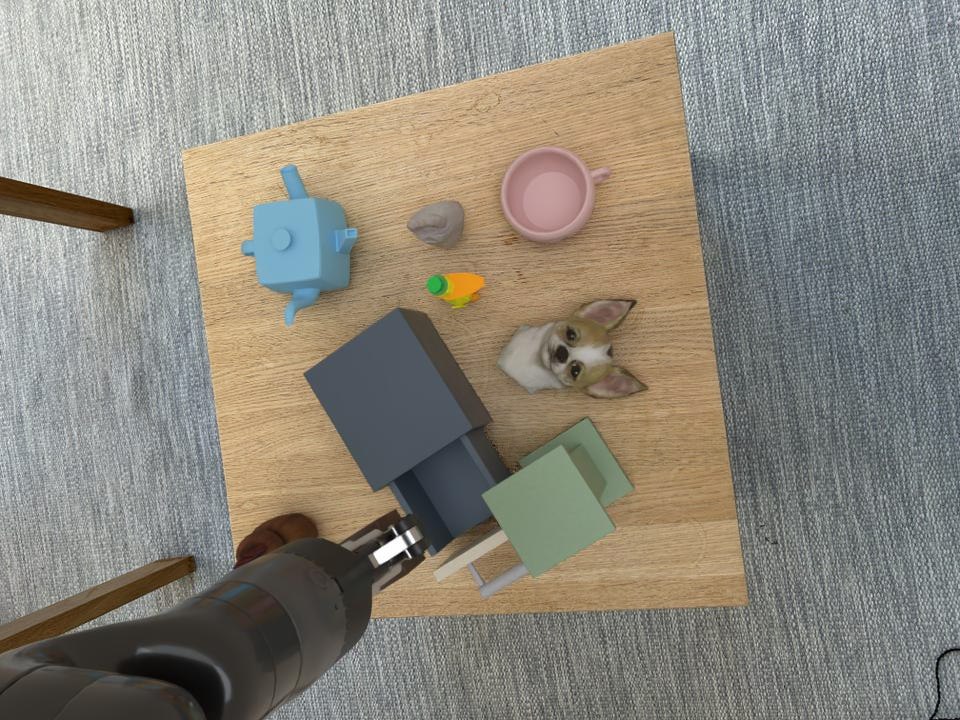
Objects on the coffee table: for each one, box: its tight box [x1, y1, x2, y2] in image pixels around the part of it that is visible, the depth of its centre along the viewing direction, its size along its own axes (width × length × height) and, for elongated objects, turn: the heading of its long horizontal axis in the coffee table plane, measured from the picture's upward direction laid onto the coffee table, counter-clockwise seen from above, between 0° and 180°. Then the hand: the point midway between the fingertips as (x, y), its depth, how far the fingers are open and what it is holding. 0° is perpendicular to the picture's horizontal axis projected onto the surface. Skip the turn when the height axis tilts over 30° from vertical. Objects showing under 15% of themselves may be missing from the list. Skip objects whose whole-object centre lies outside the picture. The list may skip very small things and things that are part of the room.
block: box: [338, 508, 426, 592], centre depth 58 cm, size 4×4×4 cm
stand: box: [481, 416, 636, 579], centre depth 73 cm, size 9×9×22 cm
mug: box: [499, 144, 613, 244], centre depth 81 cm, size 12×10×6 cm
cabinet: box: [302, 306, 494, 493], centre depth 83 cm, size 15×13×10 cm
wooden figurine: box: [232, 512, 319, 570], centre depth 84 cm, size 7×6×15 cm
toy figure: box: [426, 272, 486, 310], centre depth 81 cm, size 7×4×12 cm, turn 98°
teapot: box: [240, 164, 359, 327], centre depth 86 cm, size 18×14×10 cm
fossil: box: [406, 200, 466, 249], centre depth 82 cm, size 6×4×10 cm, turn 123°
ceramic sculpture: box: [496, 298, 650, 401], centre depth 80 cm, size 11×9×15 cm
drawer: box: [387, 427, 530, 600], centre depth 82 cm, size 18×11×8 cm, turn 33°
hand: (387, 548), depth 60 cm, fingers closed on block, 4 cm apart
